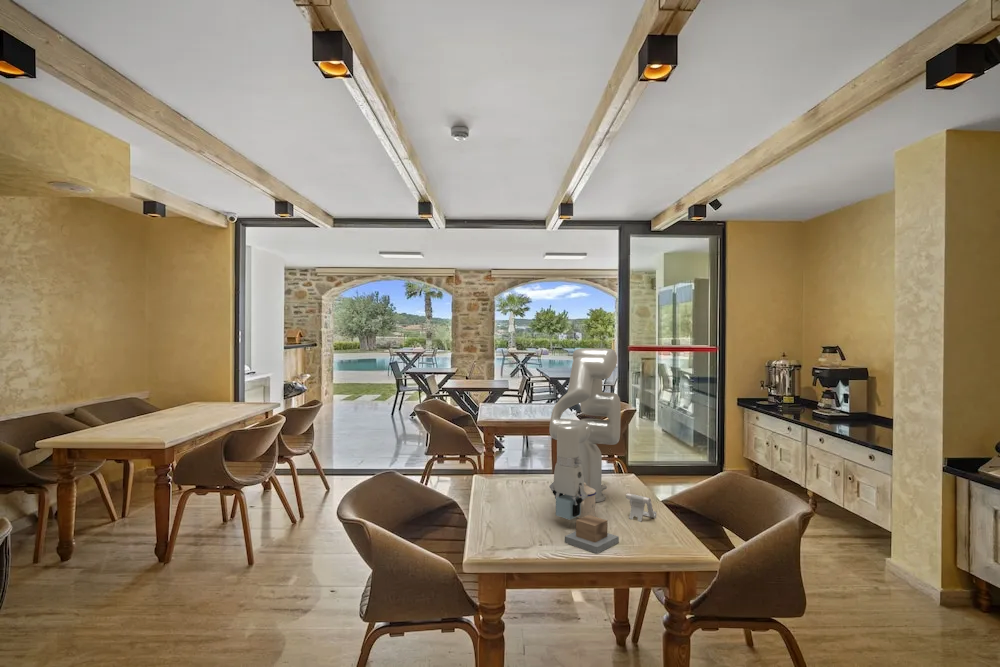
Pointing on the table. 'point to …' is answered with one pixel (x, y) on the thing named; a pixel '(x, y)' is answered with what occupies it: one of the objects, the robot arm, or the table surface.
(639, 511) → the portable electronic device stand
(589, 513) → the teacup with lid
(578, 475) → the robot arm
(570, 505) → the cube
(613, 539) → the slate base
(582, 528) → the walnut block
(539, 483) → the table surface
